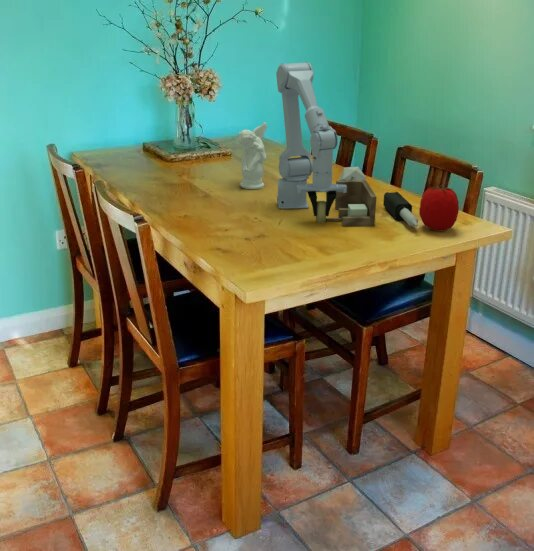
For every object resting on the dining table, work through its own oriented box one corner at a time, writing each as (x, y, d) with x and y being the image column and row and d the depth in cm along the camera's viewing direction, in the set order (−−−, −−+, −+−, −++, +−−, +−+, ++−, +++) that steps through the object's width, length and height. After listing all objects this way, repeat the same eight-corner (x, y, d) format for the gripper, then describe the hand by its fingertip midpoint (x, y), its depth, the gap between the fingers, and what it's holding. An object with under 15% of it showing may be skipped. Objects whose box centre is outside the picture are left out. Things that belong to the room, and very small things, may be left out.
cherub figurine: (246, 191, 237) (245, 127, 228) (226, 183, 246) (225, 121, 237) (274, 186, 244) (275, 123, 235) (254, 178, 253) (254, 117, 244)
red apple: (440, 239, 196) (445, 194, 190) (408, 227, 205) (411, 183, 199) (467, 231, 202) (472, 187, 197) (434, 219, 211) (439, 177, 206)
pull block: (316, 224, 207) (317, 204, 204) (314, 218, 211) (315, 199, 209) (366, 223, 207) (367, 204, 205) (363, 218, 212) (364, 199, 210)
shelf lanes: (342, 226, 205) (344, 197, 202) (334, 208, 221) (336, 180, 217) (374, 225, 206) (376, 196, 202) (364, 207, 221) (366, 180, 218)
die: (333, 191, 241) (340, 173, 232) (342, 174, 245) (349, 156, 237) (354, 200, 240) (362, 184, 232) (363, 183, 244) (371, 166, 236)
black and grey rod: (383, 207, 222) (407, 234, 199) (384, 192, 220) (409, 217, 197) (398, 206, 222) (424, 233, 200) (399, 191, 220) (426, 216, 198)
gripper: (299, 175, 199) (298, 219, 204) (349, 174, 200) (346, 219, 205) (297, 168, 205) (296, 212, 211) (345, 168, 206) (343, 211, 212)
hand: (320, 215), depth 208 cm, fingers closed on pull block, 3 cm apart
